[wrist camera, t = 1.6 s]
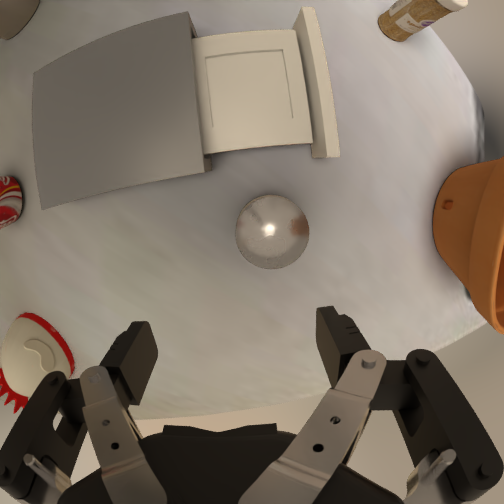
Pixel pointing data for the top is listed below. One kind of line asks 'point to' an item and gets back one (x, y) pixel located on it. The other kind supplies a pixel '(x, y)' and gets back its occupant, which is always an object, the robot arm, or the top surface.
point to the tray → (266, 89)
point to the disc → (272, 232)
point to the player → (118, 113)
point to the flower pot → (475, 234)
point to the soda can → (9, 201)
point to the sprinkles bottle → (415, 16)
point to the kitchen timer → (31, 357)
